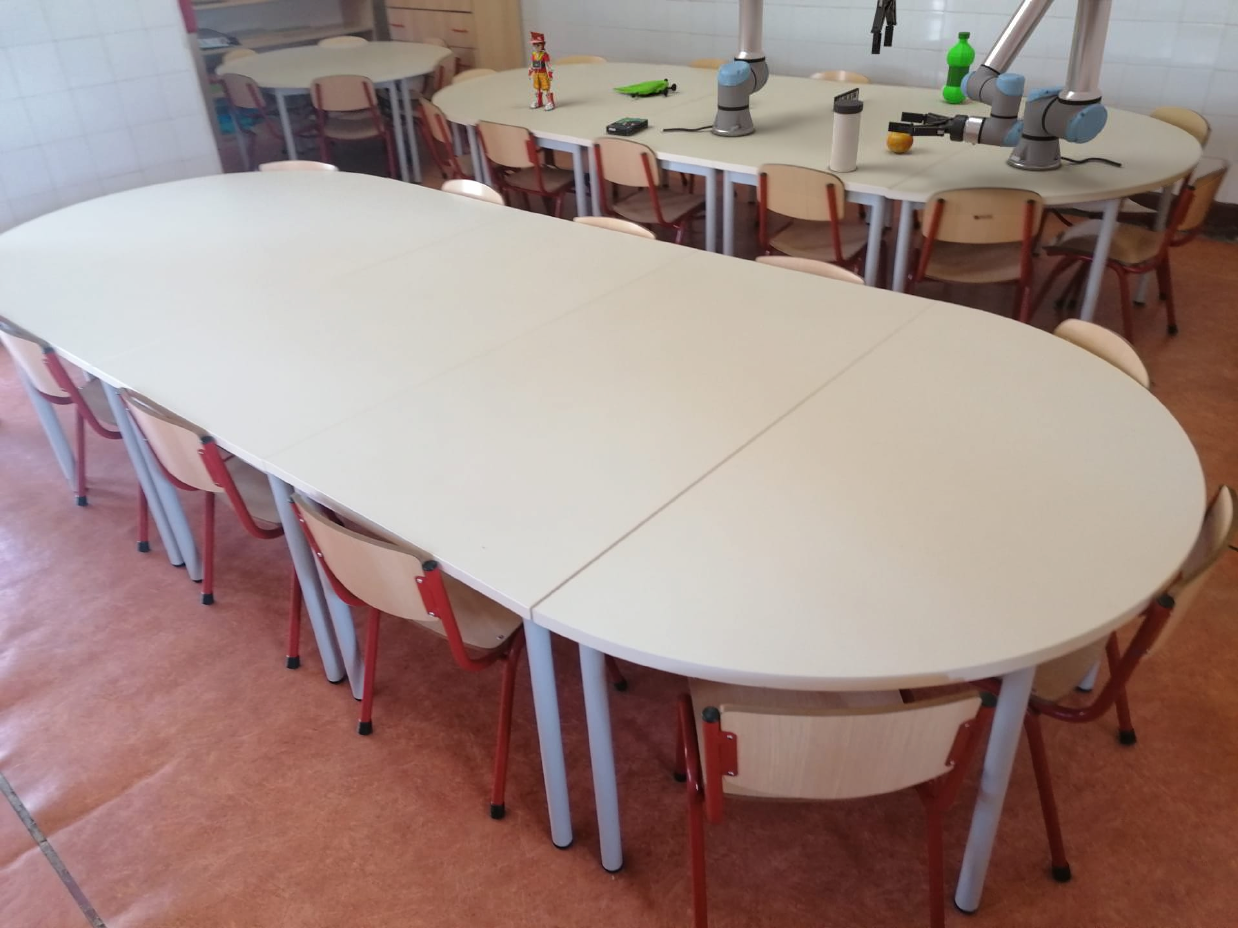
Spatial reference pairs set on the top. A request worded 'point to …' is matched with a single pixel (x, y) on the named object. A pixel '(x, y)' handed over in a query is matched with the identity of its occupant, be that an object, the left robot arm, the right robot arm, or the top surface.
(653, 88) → the toy
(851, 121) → the jar
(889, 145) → the fruit
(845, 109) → the lid
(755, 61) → the left robot arm
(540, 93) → the toy
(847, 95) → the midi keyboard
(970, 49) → the plastic bottle
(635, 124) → the disk drive
